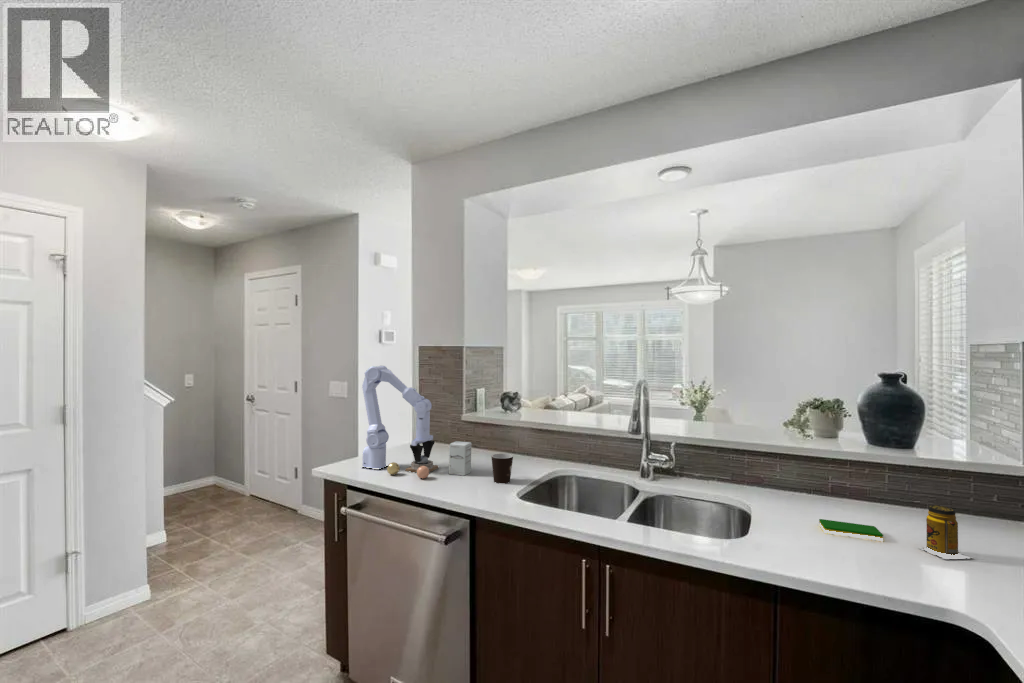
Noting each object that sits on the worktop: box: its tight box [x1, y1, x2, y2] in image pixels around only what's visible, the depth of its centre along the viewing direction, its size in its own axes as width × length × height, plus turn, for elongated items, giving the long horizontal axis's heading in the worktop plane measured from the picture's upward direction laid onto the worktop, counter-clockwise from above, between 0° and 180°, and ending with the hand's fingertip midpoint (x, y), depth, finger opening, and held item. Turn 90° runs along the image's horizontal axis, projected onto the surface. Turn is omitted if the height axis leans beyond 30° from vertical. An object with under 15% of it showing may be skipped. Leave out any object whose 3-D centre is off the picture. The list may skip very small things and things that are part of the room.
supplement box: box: [448, 440, 473, 476], centre depth 191 cm, size 7×7×13 cm
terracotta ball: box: [416, 466, 430, 480], centre depth 182 cm, size 5×5×5 cm
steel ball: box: [417, 454, 429, 465], centre depth 195 cm, size 5×5×5 cm
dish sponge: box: [818, 518, 884, 539], centre depth 132 cm, size 7×14×2 cm, turn 67°
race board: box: [405, 459, 439, 473], centre depth 195 cm, size 10×10×3 cm
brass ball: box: [386, 461, 401, 476], centre depth 187 cm, size 5×5×5 cm
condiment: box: [925, 504, 959, 555], centre depth 119 cm, size 7×8×12 cm
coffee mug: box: [490, 453, 514, 484], centre depth 181 cm, size 12×9×10 cm
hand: (422, 459), depth 195 cm, fingers open, 7 cm apart
